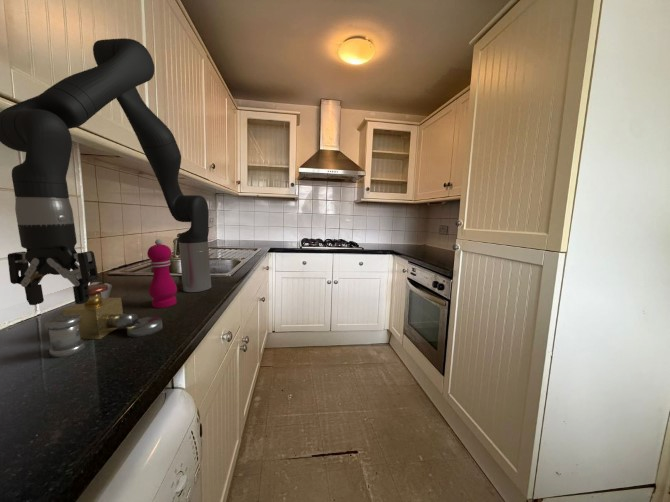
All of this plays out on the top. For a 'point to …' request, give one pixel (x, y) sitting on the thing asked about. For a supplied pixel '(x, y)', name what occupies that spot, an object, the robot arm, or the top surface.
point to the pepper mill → (161, 276)
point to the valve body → (109, 317)
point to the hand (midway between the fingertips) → (59, 303)
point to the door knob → (64, 335)
